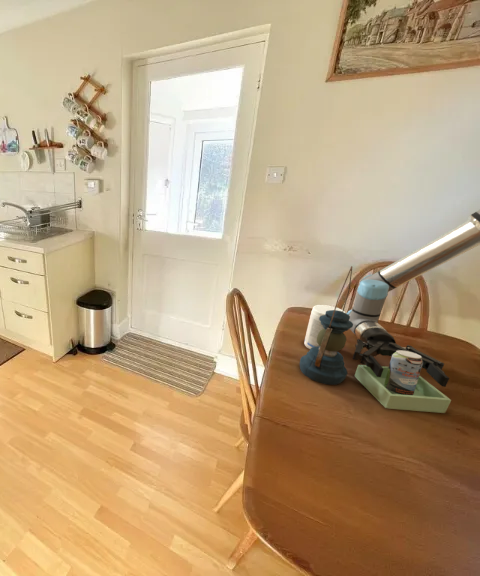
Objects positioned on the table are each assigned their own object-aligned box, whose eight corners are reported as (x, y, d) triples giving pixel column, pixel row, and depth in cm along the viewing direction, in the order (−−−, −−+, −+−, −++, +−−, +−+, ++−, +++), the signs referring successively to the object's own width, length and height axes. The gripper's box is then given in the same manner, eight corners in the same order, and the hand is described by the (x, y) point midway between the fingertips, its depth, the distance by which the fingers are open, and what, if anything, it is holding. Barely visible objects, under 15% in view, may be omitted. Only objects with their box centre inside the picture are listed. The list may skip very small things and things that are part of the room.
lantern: (336, 394, 88) (373, 277, 75) (290, 374, 97) (317, 267, 84) (350, 373, 96) (386, 265, 84) (307, 357, 105) (334, 257, 92)
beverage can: (390, 398, 85) (405, 360, 80) (375, 381, 91) (388, 345, 87) (418, 401, 83) (435, 363, 79) (401, 384, 90) (415, 348, 86)
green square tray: (404, 380, 93) (409, 367, 91) (444, 414, 80) (451, 400, 79) (353, 377, 95) (358, 364, 93) (385, 409, 82) (390, 395, 81)
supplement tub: (342, 356, 105) (354, 317, 100) (312, 355, 106) (323, 316, 101) (325, 341, 114) (335, 304, 109) (298, 340, 115) (307, 304, 110)
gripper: (419, 353, 98) (468, 398, 79) (326, 342, 106) (351, 380, 87) (428, 333, 95) (481, 374, 77) (331, 322, 103) (358, 357, 84)
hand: (412, 377), depth 82 cm, fingers open, 13 cm apart
